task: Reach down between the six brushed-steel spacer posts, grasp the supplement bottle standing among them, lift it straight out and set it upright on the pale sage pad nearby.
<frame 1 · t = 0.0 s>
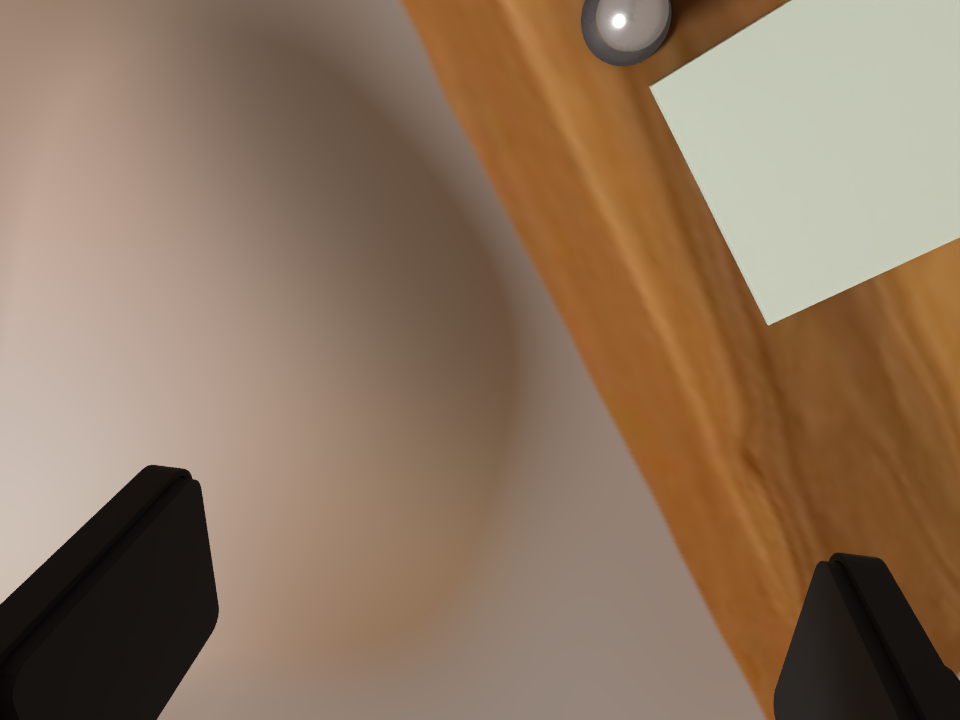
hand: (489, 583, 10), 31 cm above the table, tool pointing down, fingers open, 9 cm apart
sage pad: (848, 137, 35), on the table
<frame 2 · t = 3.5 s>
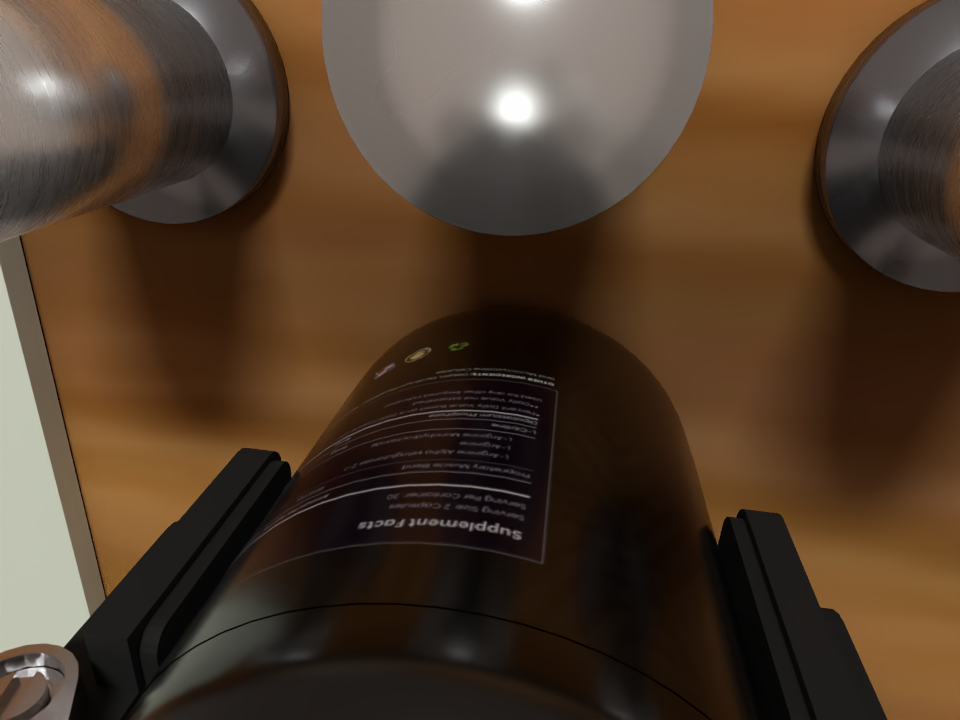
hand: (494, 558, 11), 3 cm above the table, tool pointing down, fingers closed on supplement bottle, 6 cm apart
supplement bottle: (514, 447, 14), on the table, touching gripper
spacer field: (514, 453, 14), on the table
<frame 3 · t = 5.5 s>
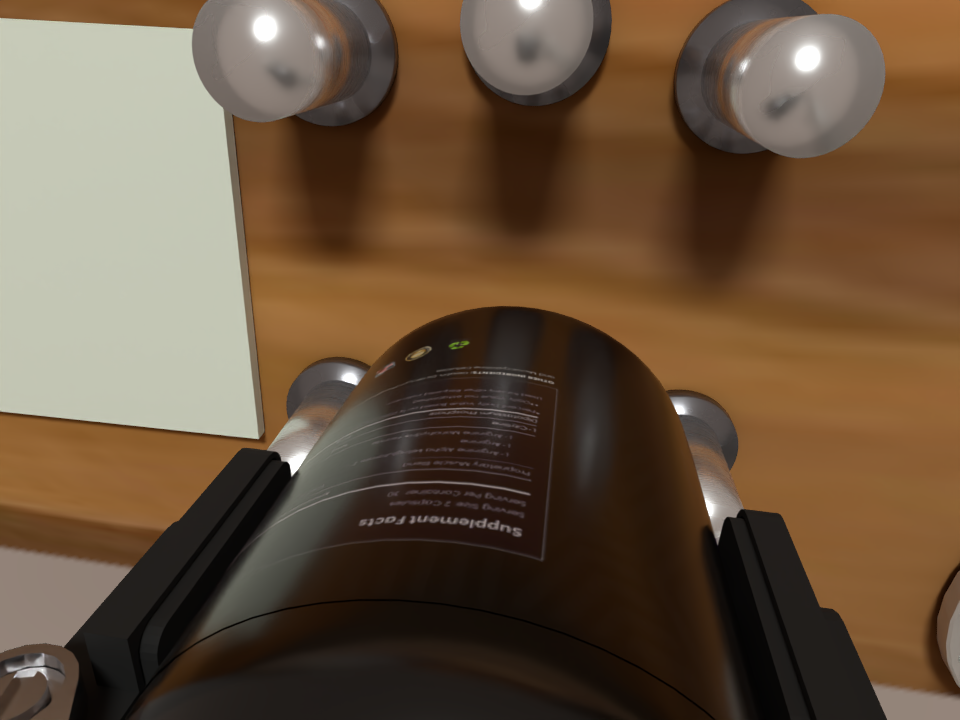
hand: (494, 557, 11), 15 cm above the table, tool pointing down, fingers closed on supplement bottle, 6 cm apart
sage pad: (54, 240, 26), on the table
supplement bottle: (514, 446, 14), point 11 cm above the table, touching gripper
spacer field: (518, 264, 24), on the table
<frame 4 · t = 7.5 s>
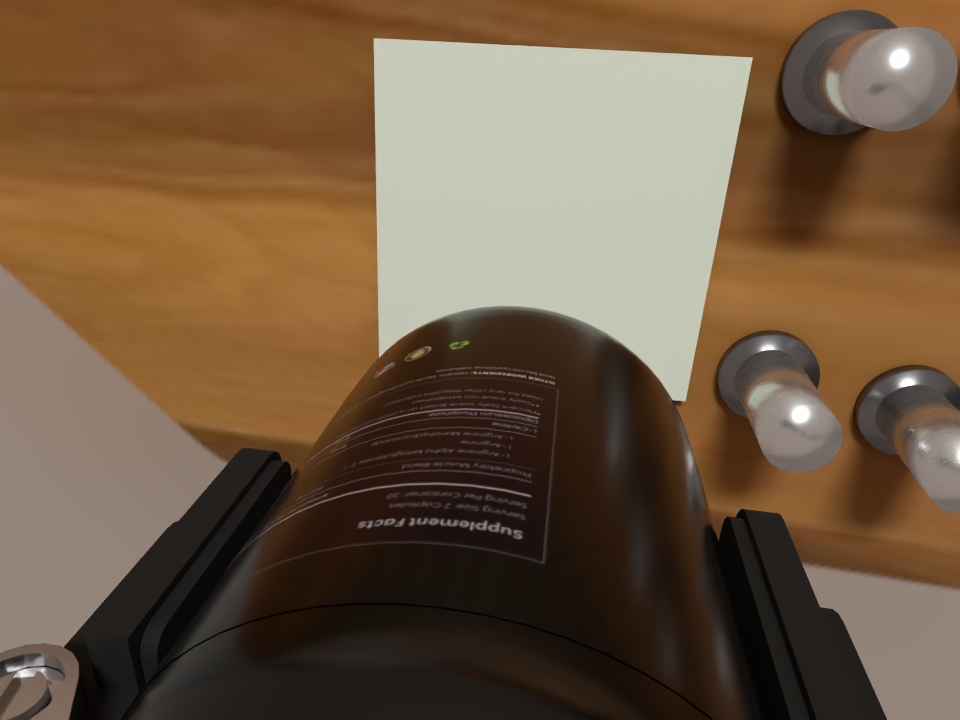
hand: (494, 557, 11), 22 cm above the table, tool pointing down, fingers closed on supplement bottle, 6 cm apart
sage pad: (542, 230, 31), on the table
supplement bottle: (514, 446, 14), point 19 cm above the table, touching gripper
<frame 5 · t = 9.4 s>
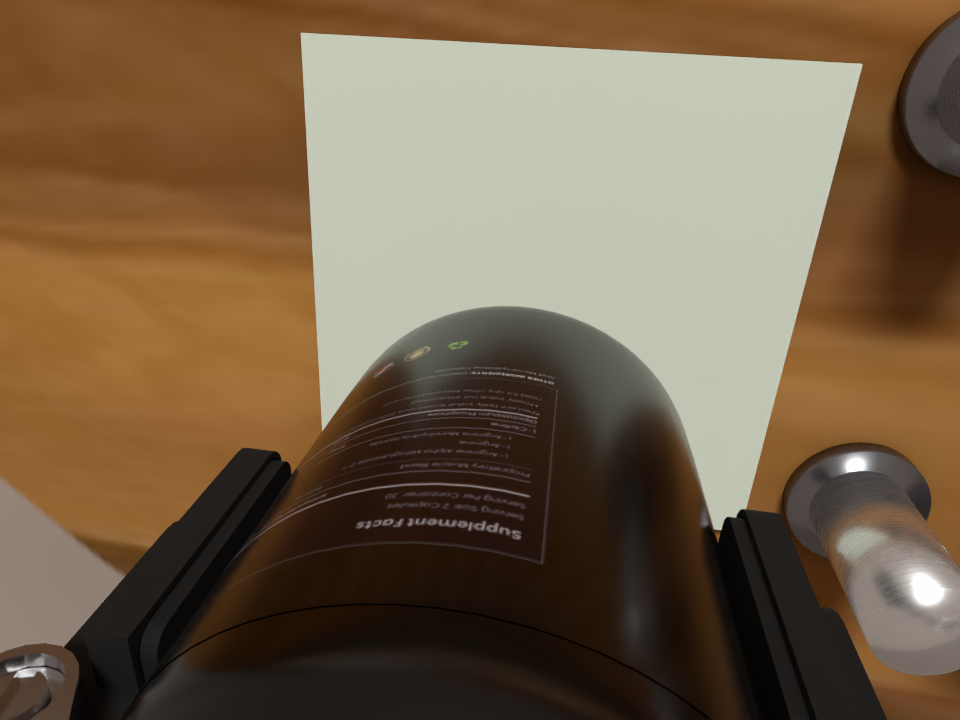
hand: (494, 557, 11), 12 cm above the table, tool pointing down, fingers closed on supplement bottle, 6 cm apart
sage pad: (545, 303, 22), on the table
supplement bottle: (514, 446, 14), point 9 cm above the table, touching gripper
when the fingers open (5 cm above the table, at t = 11.3 s): supplement bottle drops 1 cm, resting on sage pad.
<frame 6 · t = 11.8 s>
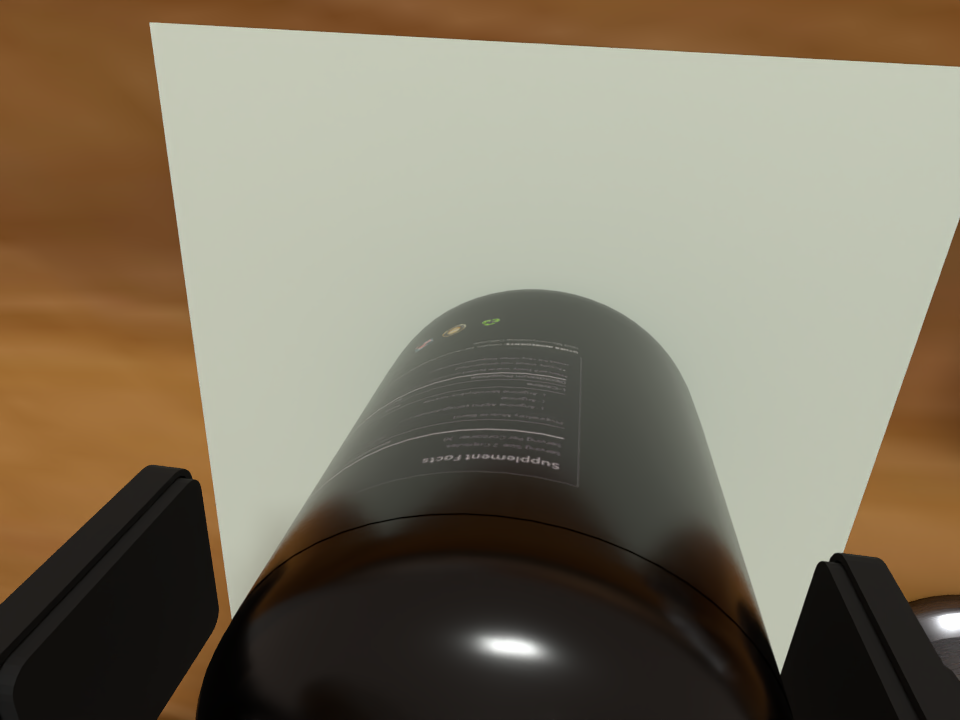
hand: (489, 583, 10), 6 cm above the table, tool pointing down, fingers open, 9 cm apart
sage pad: (521, 404, 16), on the table
supplement bottle: (536, 419, 15), resting on sage pad
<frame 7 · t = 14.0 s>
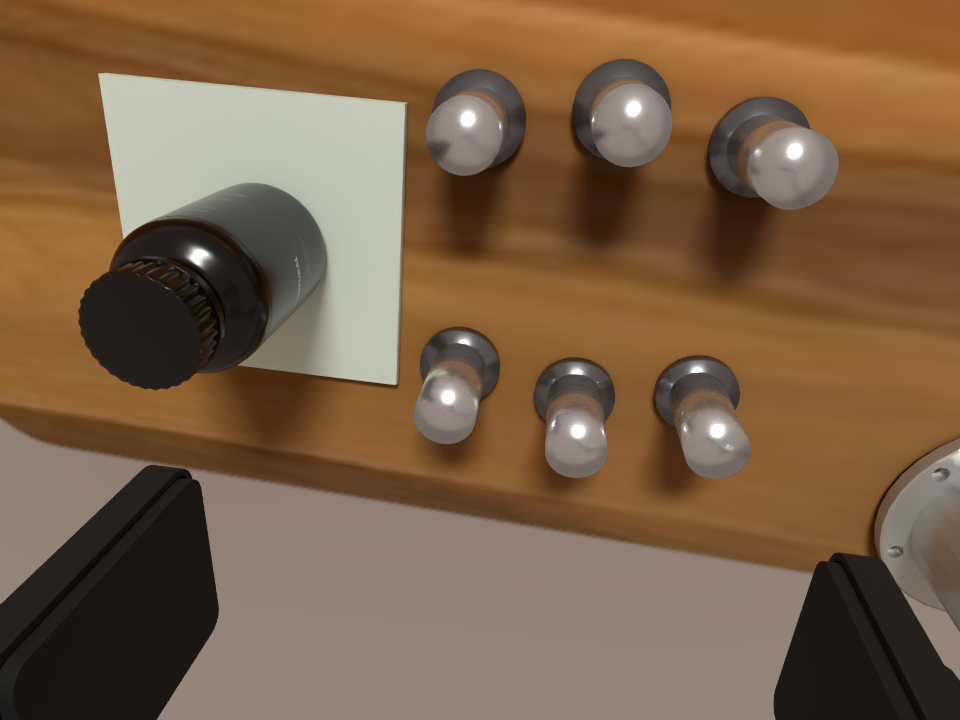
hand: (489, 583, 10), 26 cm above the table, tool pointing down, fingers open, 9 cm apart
sage pad: (263, 238, 36), on the table
supplement bottle: (267, 243, 36), resting on sage pad
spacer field: (595, 265, 35), on the table
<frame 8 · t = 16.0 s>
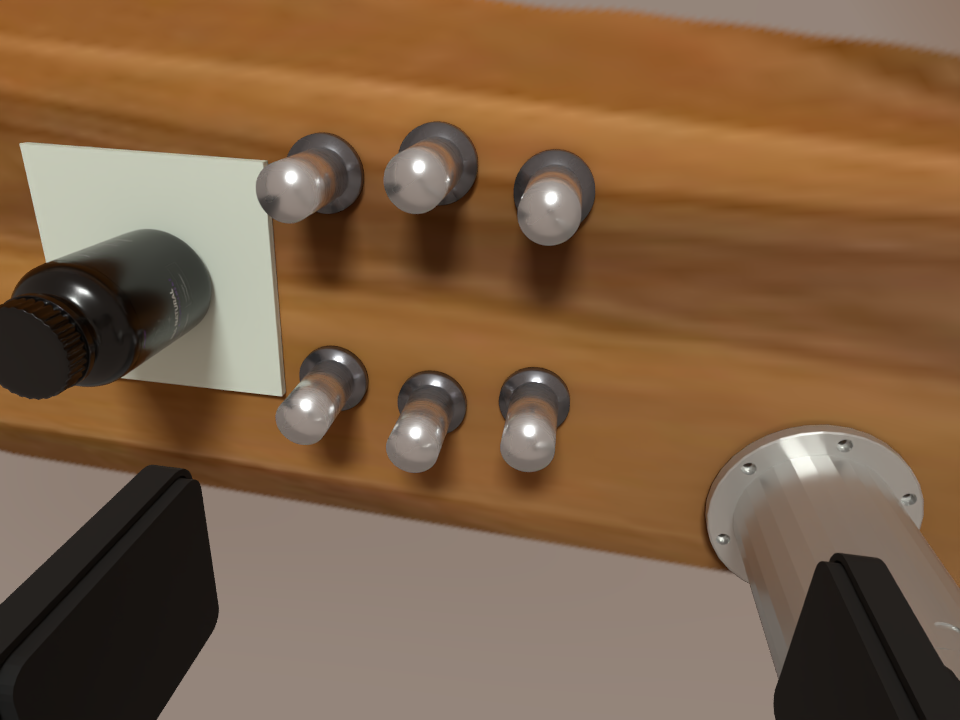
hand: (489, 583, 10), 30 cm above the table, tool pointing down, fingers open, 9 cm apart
sage pad: (163, 274, 43), on the table
supplement bottle: (165, 278, 43), resting on sage pad
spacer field: (435, 291, 41), on the table
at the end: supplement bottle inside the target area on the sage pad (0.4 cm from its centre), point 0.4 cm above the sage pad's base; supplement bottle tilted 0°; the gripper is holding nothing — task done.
